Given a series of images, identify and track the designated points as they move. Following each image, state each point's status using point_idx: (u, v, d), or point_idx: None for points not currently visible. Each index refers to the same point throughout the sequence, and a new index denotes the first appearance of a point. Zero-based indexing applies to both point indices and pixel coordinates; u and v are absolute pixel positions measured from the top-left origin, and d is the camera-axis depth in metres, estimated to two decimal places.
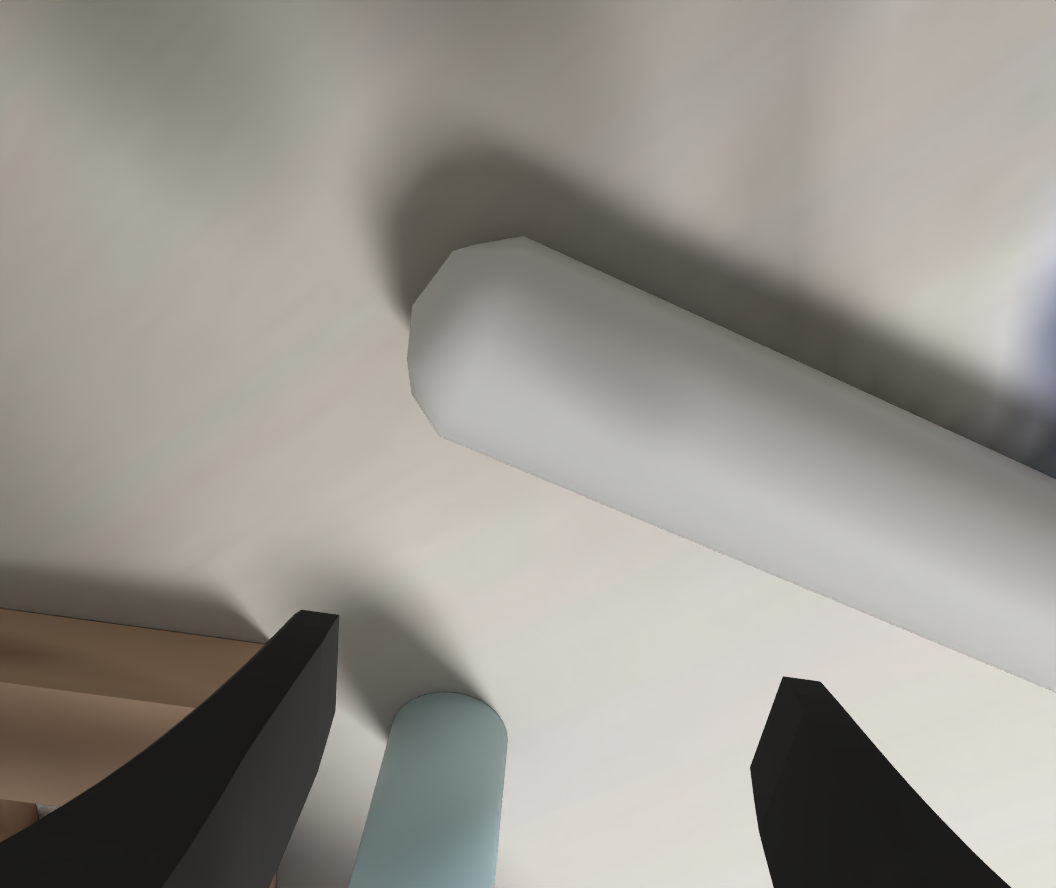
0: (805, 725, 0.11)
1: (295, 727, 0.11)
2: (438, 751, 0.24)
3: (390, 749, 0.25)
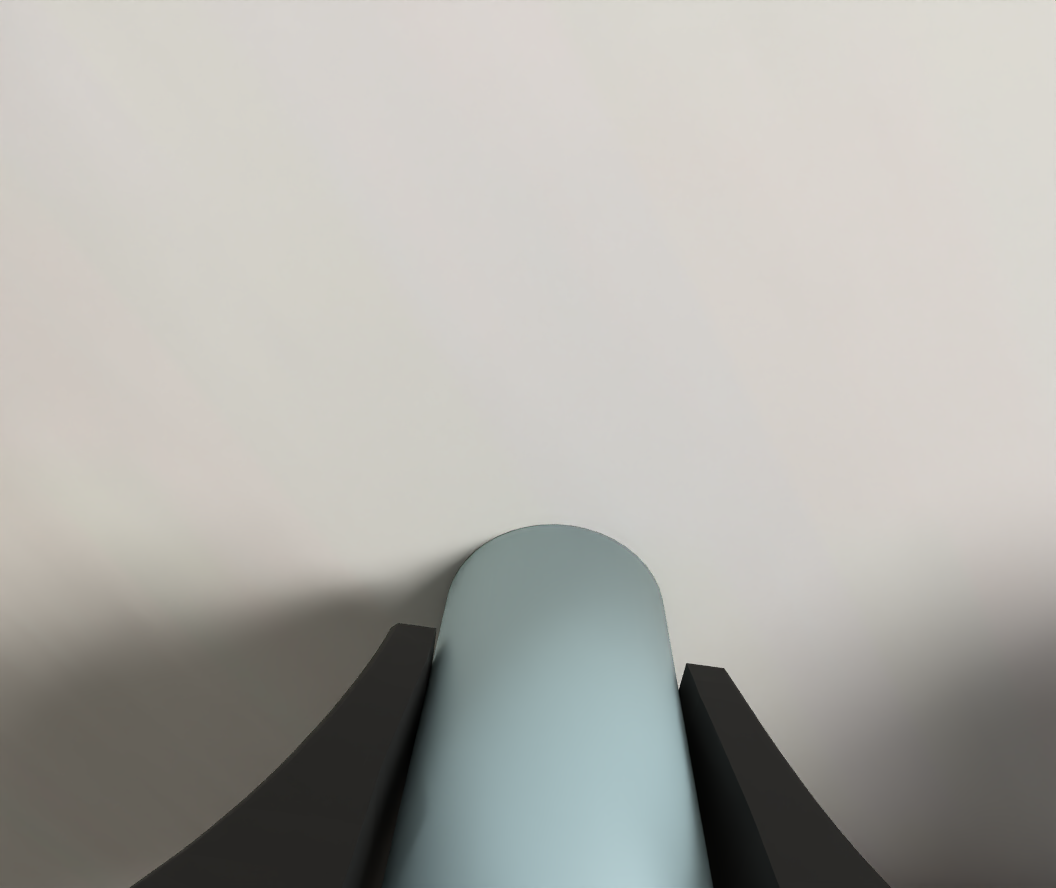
0: (700, 710, 0.11)
1: (406, 742, 0.11)
2: None
3: None
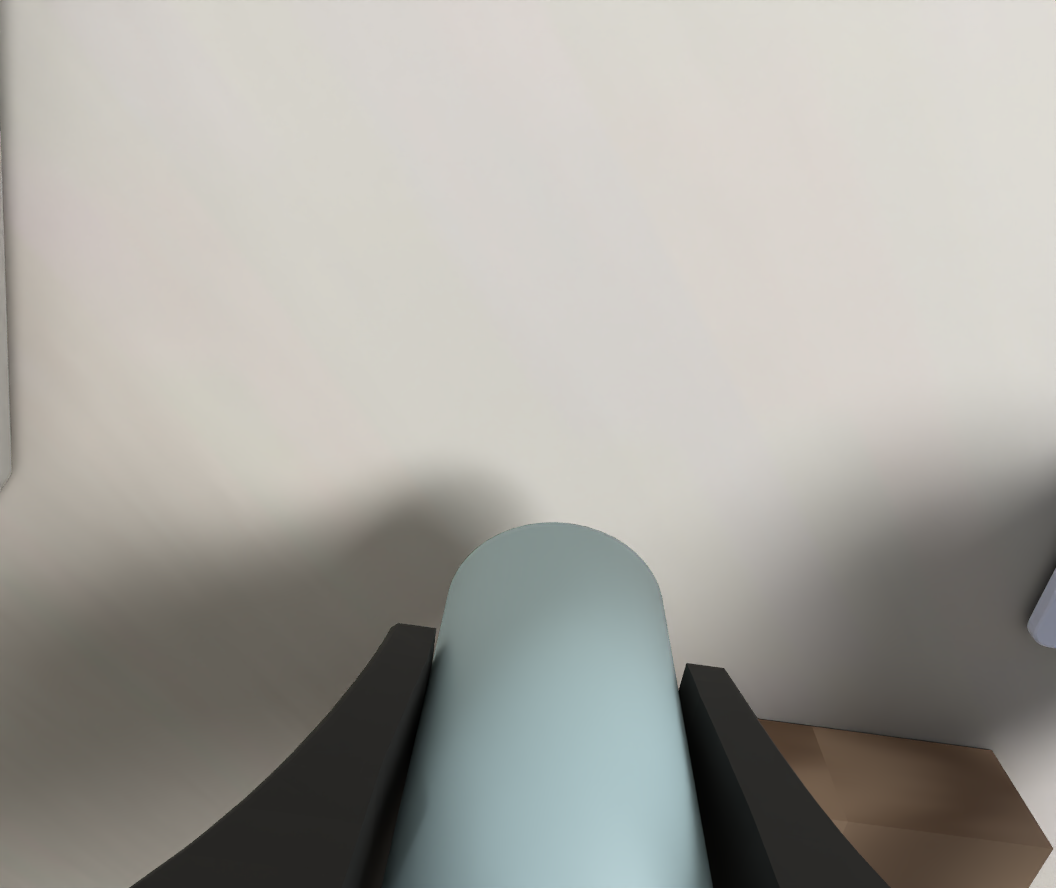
0: (700, 711, 0.11)
1: (406, 742, 0.11)
2: None
3: None
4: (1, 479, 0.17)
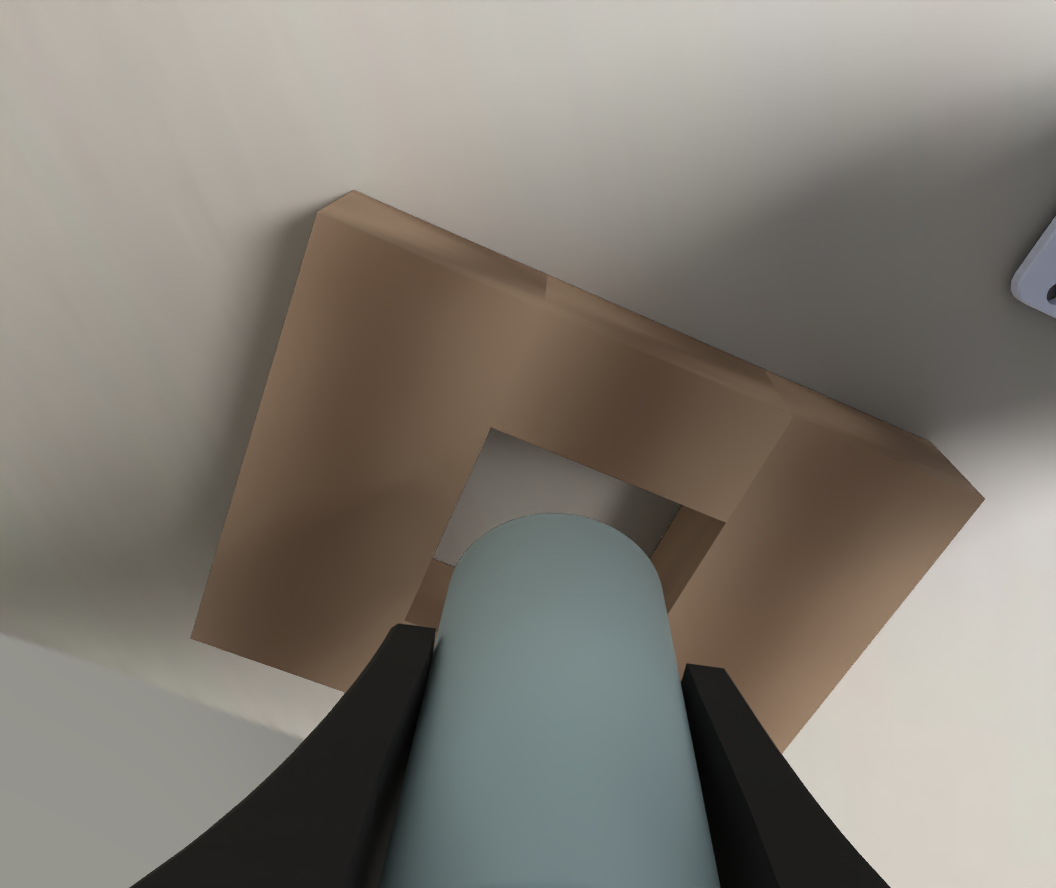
0: (700, 711, 0.11)
1: (406, 742, 0.11)
2: None
3: None
4: None
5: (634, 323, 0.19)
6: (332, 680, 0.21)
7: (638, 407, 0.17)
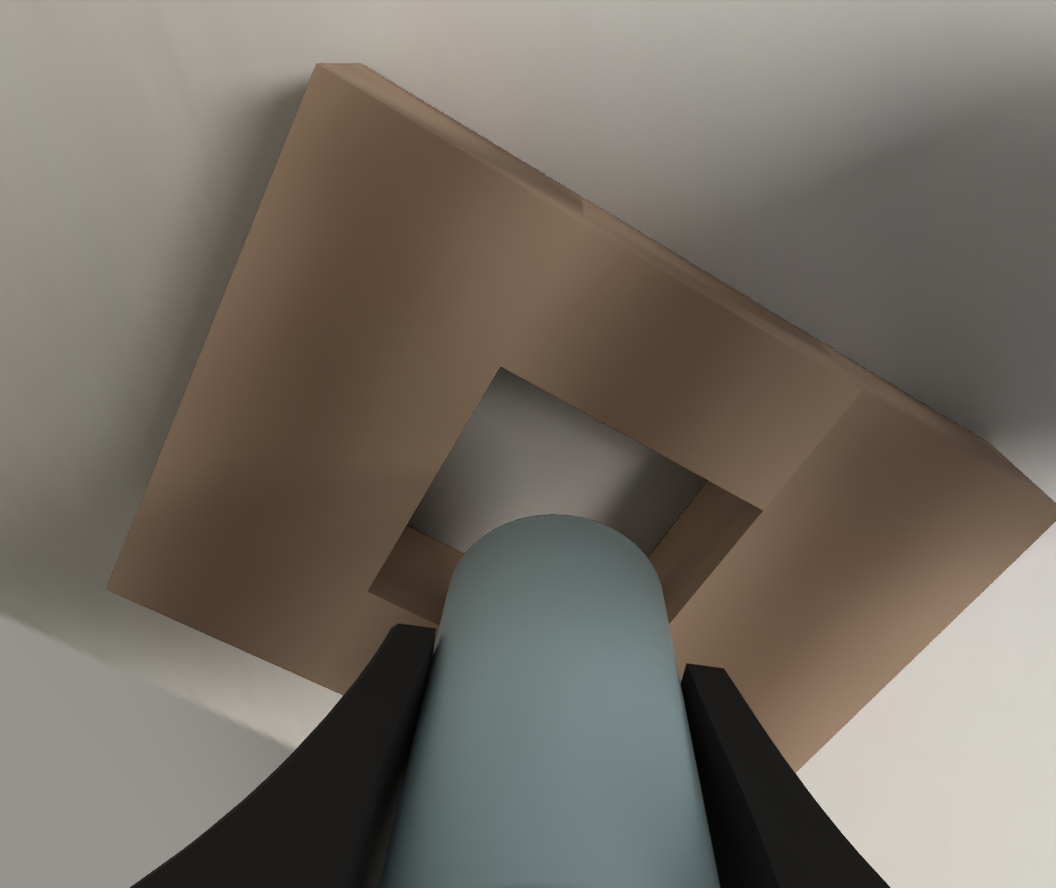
0: (700, 711, 0.11)
1: (406, 742, 0.11)
2: None
3: None
4: None
5: (680, 264, 0.16)
6: (273, 654, 0.18)
7: (681, 360, 0.14)
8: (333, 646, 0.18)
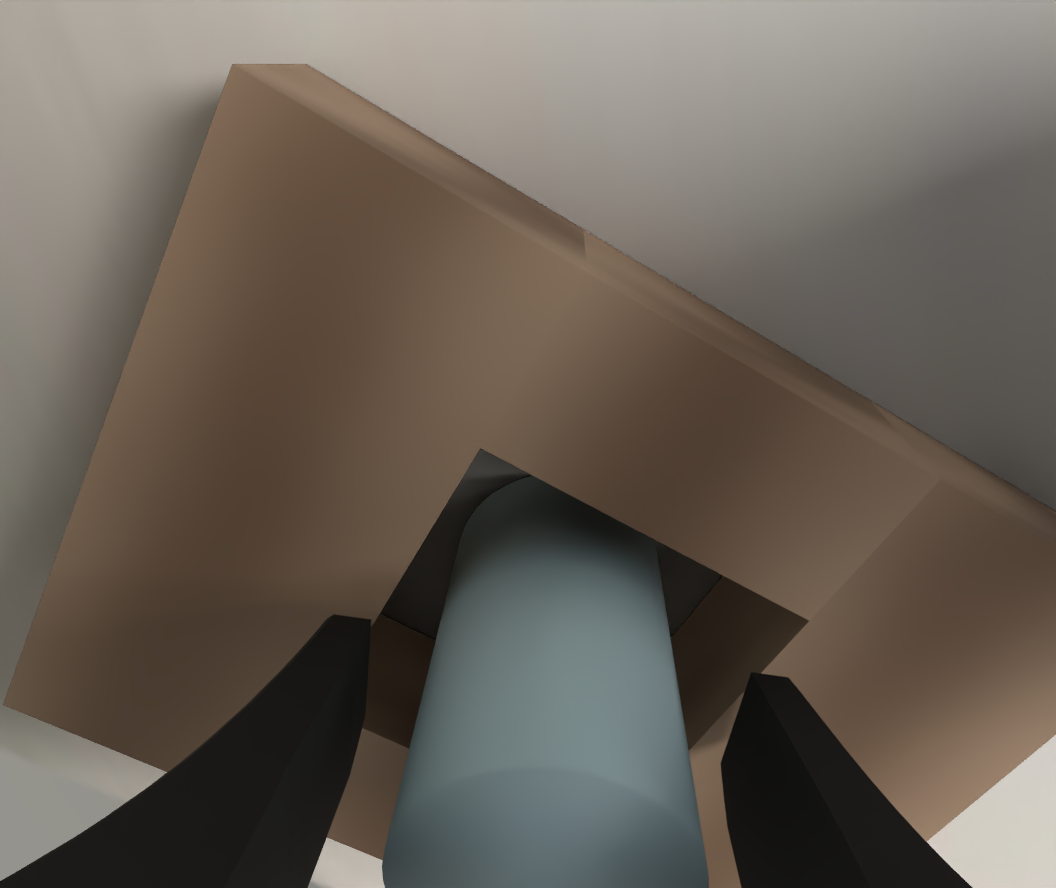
0: (770, 720, 0.11)
1: (332, 732, 0.11)
2: None
3: None
4: None
5: (706, 314, 0.13)
6: None
7: (710, 442, 0.11)
8: None
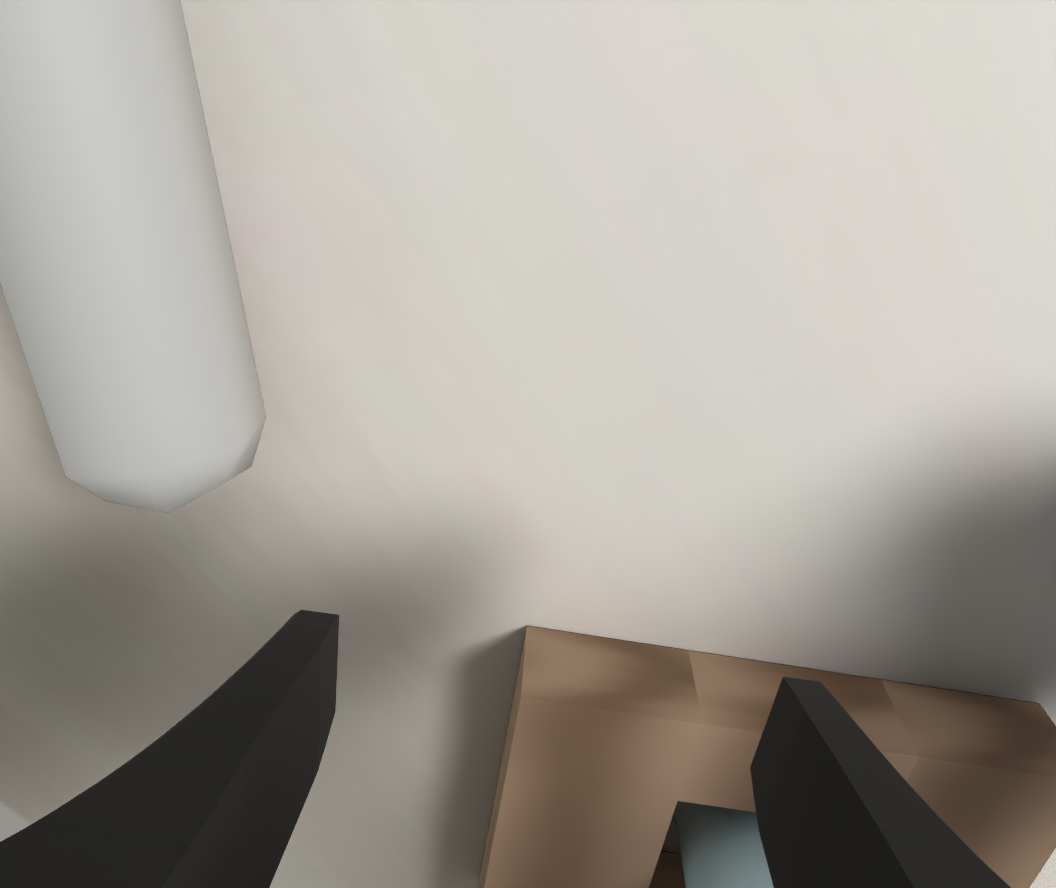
0: (805, 725, 0.11)
1: (295, 727, 0.11)
2: None
3: None
4: (260, 421, 0.20)
5: (769, 685, 0.23)
6: None
7: None
8: None
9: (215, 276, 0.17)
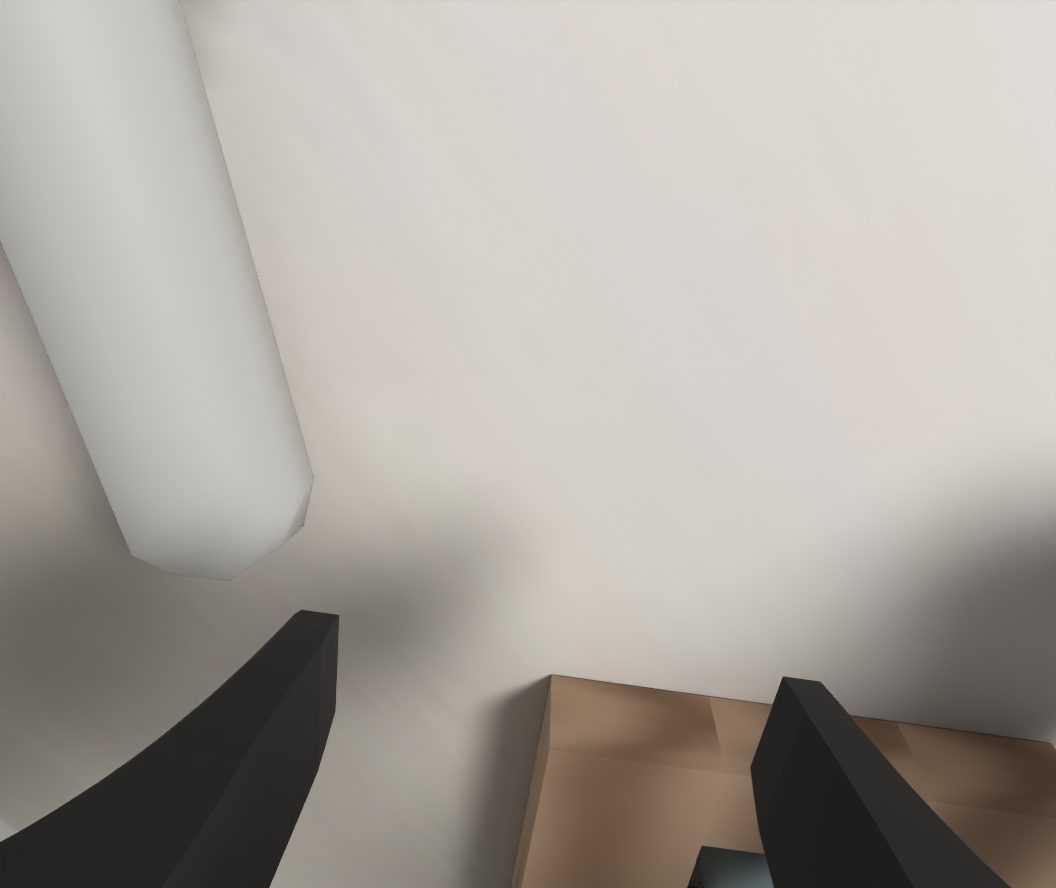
0: (805, 725, 0.11)
1: (295, 727, 0.11)
2: None
3: None
4: (309, 482, 0.20)
5: None
6: None
7: None
8: None
9: (258, 352, 0.18)
